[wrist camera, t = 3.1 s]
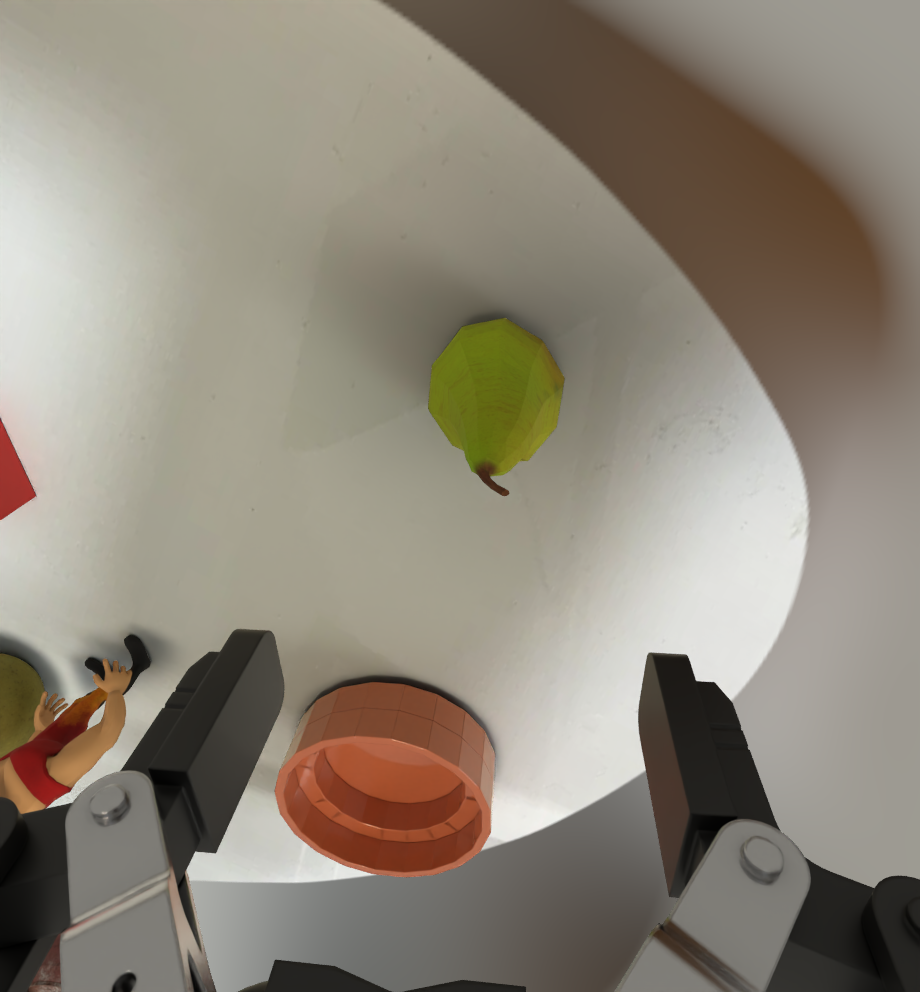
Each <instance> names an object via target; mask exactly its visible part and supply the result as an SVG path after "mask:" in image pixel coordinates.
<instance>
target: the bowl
mask: <svg viewBox="0 0 920 992" xmlns="http://www.w3.org/2000/svg"><path fill="white" fill-rule="evenodd" d="M494 780H495V752H494V750H493V748H492V746H491V743H490V741H489V739H488V737H487V734H486V732H485V731H484V730H483V729H482V728H481V726H480V725H479V724H478V723H477V722H476V721H475V720H474V719H473V718H472V717H471V716H470V715H469V714H468V713H467V712H466V711H464V710H463V709H461V708H460V707H458V706H456V705H455V704H453V703H451V702H449V701H448V700H446V699H444V698H443V697H441V696H439V695H437V694H435V693H431V692H428V691H425V690H422V689H418V688H415V687H412V686H408V685H405V684H394V683H380V682H369V683H364V684H358V685H352V686H347V687H342V688H339V689H337V690H335V691H333V692H331V693H329V694H327V695H325V696H323V697H321V698H319V699H318V700H316V702H315V703H314V704H313V705H312V706H311V707H310V709H309V710H308V711H307V712H306V713H305V714H304V715H303V717H302V718H301V721H300V723H299V726H298V728H297V730H296V733H295V735H294V737H293V740H292V742H291V745H290V747H289V749H288V752H287V754H286V757H285V759H284V761H283V764H282V766H281V768H280V771H279V775H278V779H277V783H276V787H275V796H276V800H277V804H278V808H279V812H280V814H281V816H282V817H283V819H284V820H285V821H286V823H287V824H288V826H289V827H290V828H291V830H292V831H293V833H294V834H295V835H296V836H298V837H299V838H300V839H301V840H303V841H304V842H305V843H306V844H308V845H309V846H310V847H311V848H313V849H314V850H315V851H317V852H318V853H320V854H322V855H324V856H326V857H328V858H330V859H332V860H334V861H336V862H338V863H340V864H342V865H344V866H347V867H351V868H354V869H357V870H361V871H364V872H368V873H371V874H377V875H387V876H397V877H416V876H426V875H436V874H439V873H441V872H445V871H448V870H450V869H454V868H457V867H460V866H461V865H463V864H464V863H466V862H467V861H468V860H470V859H471V858H472V857H474V856H475V855H476V854H478V853H479V852H480V851H481V849H482V847H483V846H484V844H485V842H486V840H487V838H488V837H489V835H490V833H491V823H492V808H493V794H494Z"/></svg>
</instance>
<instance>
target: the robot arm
mask: <svg viewBox="0 0 920 992" xmlns="http://www.w3.org/2000/svg"><path fill="white" fill-rule="evenodd" d="M283 698H284V679H283V674H282V669H281V665H280V660H279V655H278V651H277V646H276V641H275V637H274V634H273V633H272V632H271V631H265V630H246V629H236V630H235V631H233V632H232V634H231V635H230V637H229V638H228V640H227V642H226V643H225V645H224V646H223V648H222V650H221V651H220V652H208V653H207V654H206V655H205V656H204V657H202V658H201V659H200V660H199V661H197V662H196V663H195V664H194V665H192V666H191V667H190V668H189V669H188V670H187V672H186V674H185V675H184V677H183V678H182V680H181V681H180V683H179V684H178V686H177V687H176V691H175V692H173V693H172V695H171V696H170V698H169V699H168V701H167V702H166V704H165V708H162V710H161V711H160V713H159V714H158V716H157V717H156V719H155V720H154V722H153V723H152V725H151V726H150V728H149V729H148V731H147V732H146V734H145V735H144V737H143V738H142V740H141V741H140V743H139V744H138V746H137V747H136V749H135V750H134V752H133V753H132V755H131V756H130V758H129V759H128V761H127V762H126V764H125V765H124V767H123V768H122V769H121V771H120V772H116V773H112V774H110V775H107V776H105V777H103V778H101V779H99V780H97V781H95V782H94V783H92V784H91V785H90V786H88V787H87V788H86V789H85V790H83V791H82V792H81V793H80V794H79V795H78V797H77V798H76V799H75V800H74V802H73V803H69V804H65V805H61V806H56V807H52V808H47V809H42V810H38V811H33V812H28V813H24V814H21V813H20V811H19V810H18V808H17V806H16V805H15V803H14V802H13V801H11V800H10V799H8V798H5V797H0V992H27V990H28V988H29V987H30V985H31V983H32V981H33V979H34V978H35V976H36V974H37V972H38V970H39V968H40V967H41V965H42V963H43V961H44V959H45V958H46V956H47V954H48V952H49V950H50V949H51V947H52V945H53V943H54V941H55V939H56V938H57V936H58V934H61V937H60V968H61V992H216V989H215V985H214V982H213V979H212V976H211V973H210V969H209V965H208V961H207V957H206V952H205V948H204V944H203V940H202V935H201V931H200V926H199V922H198V917H197V912H196V908H195V904H194V899H193V895H192V890H191V886H190V881H189V877H188V874H187V871H186V869H187V867H188V865H189V863H190V861H191V859H192V857H193V855H194V853H195V851H196V852H207V853H216V852H217V850H218V847H219V845H220V843H221V841H222V839H223V836H224V834H225V832H226V830H227V827H228V825H229V823H230V821H231V819H232V816H233V814H234V812H235V810H236V808H237V805H238V803H239V801H240V799H241V796H242V794H243V792H244V790H245V788H246V785H247V783H248V781H249V779H250V777H251V774H252V772H253V770H254V768H255V765H256V763H257V761H258V759H259V757H260V754H261V752H262V750H263V748H264V746H265V743H266V741H267V739H268V737H269V734H270V732H271V730H272V728H273V726H274V723H275V721H276V719H277V717H278V714H279V712H280V710H281V707H282V703H283ZM638 723H639V735H640V741H641V746H642V752H643V757H644V762H645V768H646V773H647V779H648V784H649V789H650V795H651V800H652V806H653V811H654V817H655V822H656V828H657V833H658V838H659V844H660V849H661V855H662V860H663V866H664V871H665V877H666V882H667V887H668V893H669V897H676V898H679V899H678V901H677V902H676V904H675V906H674V907H673V909H672V911H671V912H670V914H669V916H668V917H667V919H666V920H665V922H664V923H663V924H660V923H659V924H658V925H656V927H655V928H654V929H653V930H652V932H651V933H650V934H649V936H648V938H647V939H646V941H645V943H644V944H643V946H642V947H641V949H640V951H639V952H638V954H637V956H636V957H635V959H634V961H633V962H632V964H631V965H630V968H629V969H628V971H627V972H626V974H625V975H624V977H623V979H622V980H621V982H620V984H619V985H618V987H617V989H616V990H615V992H920V880H919V879H916V878H912V877H907V876H891V877H888V878H885V879H883V880H882V881H880V882H879V883H878V884H877V886H876V887H875V888H872V887H870V886H867V885H864V884H861V883H859V882H856V881H854V880H851V879H848V878H846V877H843V876H841V875H837V874H835V873H833V872H830V871H828V870H826V869H823V868H821V867H819V866H818V865H816V864H814V863H812V862H811V861H810V860H808V859H807V858H805V857H804V856H803V854H802V852H801V851H800V850H799V848H798V847H797V846H796V845H795V844H794V842H793V841H792V840H791V839H790V838H788V837H787V836H786V835H785V834H784V833H782V832H781V831H780V829H779V827H778V826H777V823H776V821H775V819H774V816H773V813H772V810H771V808H770V805H769V802H768V799H767V797H766V794H765V792H764V788H763V785H762V783H761V780H760V778H759V775H758V772H757V769H756V766H755V764H754V761H753V758H752V755H751V752H750V750H748V744H747V741H746V739H745V736H744V734H743V731H742V730H741V725H740V722H739V719H738V717H737V714H736V711H735V709H734V706H733V703H732V702H731V701H730V699H729V698H728V697H727V696H726V695H725V694H724V693H723V691H722V690H721V689H720V688H719V687H718V686H717V685H716V683H715V682H700V681H696V680H695V676H694V673H693V670H692V667H691V664H690V661H689V658H688V656H687V655H685V654H667V653H648V655H647V659H646V665H645V671H644V677H643V683H642V690H641V696H640V702H639V711H638ZM238 992H391V991H388V990H386V989H384V988H381V987H380V986H377V985H375V984H373V983H371V982H369V981H366V980H364V979H362V978H360V977H358V976H355V975H353V974H351V973H349V972H346V971H344V970H342V969H340V968H338V967H335V966H329V965H319V964H310V963H301V962H291V961H282V960H275V961H274V965H273V968H272V971H271V974H270V977H269V980H268V981H266V982H261V983H258V984H255V985H253V986H250V987H247V988H244V989H242V990H240V991H238ZM405 992H526V987H524V986H514V985H505V984H496V983H486V982H476V981H468V980H460V981H455V982H449V983H444V984H439V985H435V986H429V987H424V988H419V989H414V990H409V991H405Z"/></svg>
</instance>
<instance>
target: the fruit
mask: <svg viewBox="0 0 920 992" xmlns="http://www.w3.org/2000/svg"><path fill="white" fill-rule="evenodd" d="M564 379H565V378H564V376H563V374H562V373H561V371H560V369H559V368H558V366H557V364H556V363H555V361H554V359H553V357H552V356H551V354H550V352H549V351H548V349H547V347H546V345H545V344H544V342H543V341H542V340H541V339H539V338H537V337H536V336H534V335H532V334H531V333H529V332H527V331H526V330H524V329H523V328H521V327H519V326H518V325H516V324H514V323H513V322H511V321H509V320H508V319H506V318H501V319H496V320H491V321H487V322H482V323H477V324H472V325H467V326H462V328H461V329H460V330H459V331H458V333H457V334H456V335H455V337H454V338H453V339H452V341H451V342H450V343H449V345H448V346H447V347H446V348H445V350H444V351H443V352H442V354H441V355H440V356H439V357H438V359H437V360H436V361H435V362H434V363H433V365H432V370H431V381H430V392H429V403H428V409H429V411H430V413H431V415H432V416H433V417H434V419H435V420H436V422H437V423H438V425H439V426H440V428H441V429H442V431H443V432H444V434H445V435H446V437H447V438H448V440H449V441H450V443H451V444H452V445H453V446H455V447H457V448H459V449H461V450H463V451H464V453H465V457H466V460H467V462H468V464H469V466H470V468H471V471H472V472H474V473H476V474H477V475H478V476H479V477H480V478H481V480H482V481H483V482H484V483H485V484H486V485H487V486H489V487H490V488H491V489H492V490H494V491H496V492H497V493H499V494H500V495H502V496H507V495H509V491H508V490H506V489H504V488H503V487H501V486H499V485H497V484H496V483H495V482H494V481H493V480H492V479H491V478H490V476H499V475H504V474H505V473H507V472H509V471H510V470H511V469H512V468H513V467H514V466H515V465H516V464H517V463H518V462H519V461H528V460H529V459H530V458H531V457H532V455H533V454H534V453H535V452H536V451H537V450H538V448H539V447H540V446H541V445H542V444H543V442H544V441H545V440H546V439H547V438H548V436H549V435H550V434H551V433H552V432H553V431H554V429H555V428H556V427H557V421H558V415H559V409H560V403H561V397H562V391H563V385H564Z"/></svg>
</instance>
